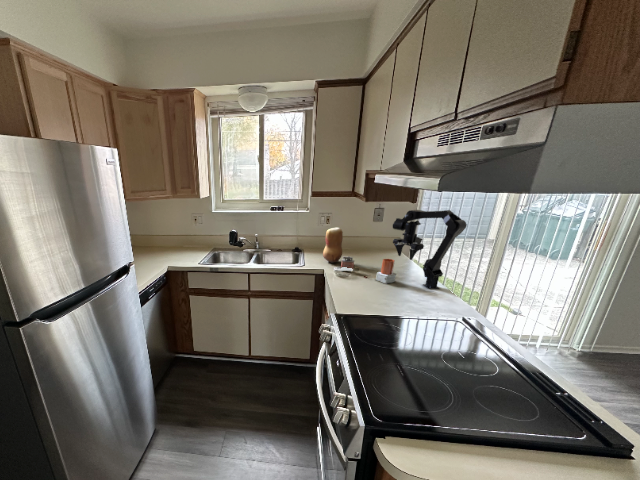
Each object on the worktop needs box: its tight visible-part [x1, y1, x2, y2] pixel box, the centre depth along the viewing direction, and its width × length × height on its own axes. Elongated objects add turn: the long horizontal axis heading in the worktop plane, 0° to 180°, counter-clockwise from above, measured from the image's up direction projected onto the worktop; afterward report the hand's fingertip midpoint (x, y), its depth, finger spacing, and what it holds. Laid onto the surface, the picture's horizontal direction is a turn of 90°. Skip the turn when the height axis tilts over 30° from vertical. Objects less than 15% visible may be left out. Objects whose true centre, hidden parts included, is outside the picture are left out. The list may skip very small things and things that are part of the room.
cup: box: [380, 258, 395, 275], centre depth 190 cm, size 6×6×8 cm
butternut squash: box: [322, 227, 344, 263], centre depth 228 cm, size 14×13×25 cm
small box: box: [375, 271, 397, 285], centre depth 192 cm, size 8×8×5 cm
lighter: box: [340, 255, 355, 270], centre depth 211 cm, size 8×3×10 cm, turn 74°
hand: (405, 257), depth 193 cm, fingers open, 9 cm apart
